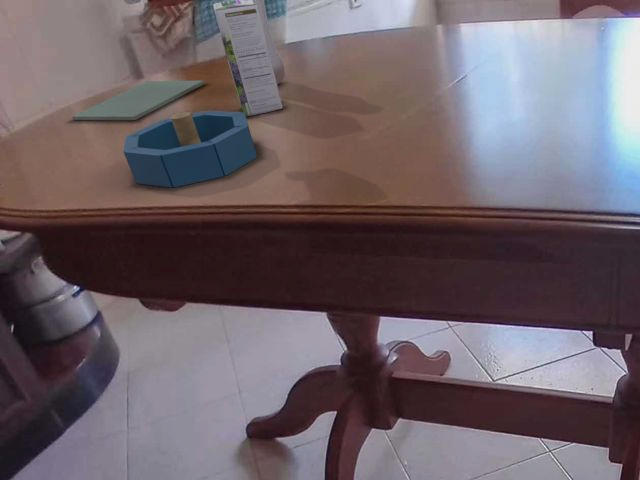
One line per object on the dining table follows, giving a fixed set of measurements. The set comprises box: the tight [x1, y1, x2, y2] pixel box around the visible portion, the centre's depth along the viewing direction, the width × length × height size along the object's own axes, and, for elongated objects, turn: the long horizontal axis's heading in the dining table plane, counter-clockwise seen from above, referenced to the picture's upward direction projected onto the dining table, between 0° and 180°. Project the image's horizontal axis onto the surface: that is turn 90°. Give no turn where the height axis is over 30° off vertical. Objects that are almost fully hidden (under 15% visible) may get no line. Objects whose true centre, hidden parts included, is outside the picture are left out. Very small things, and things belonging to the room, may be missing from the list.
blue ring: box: [122, 110, 258, 189], centre depth 88 cm, size 15×15×4 cm
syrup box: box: [212, 0, 284, 117], centre depth 101 cm, size 6×6×14 cm
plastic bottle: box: [222, 0, 285, 85], centre depth 109 cm, size 6×7×20 cm
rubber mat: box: [71, 80, 205, 121], centre depth 115 cm, size 18×12×1 cm, turn 163°
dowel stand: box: [170, 111, 201, 147], centre depth 87 cm, size 8×8×6 cm
